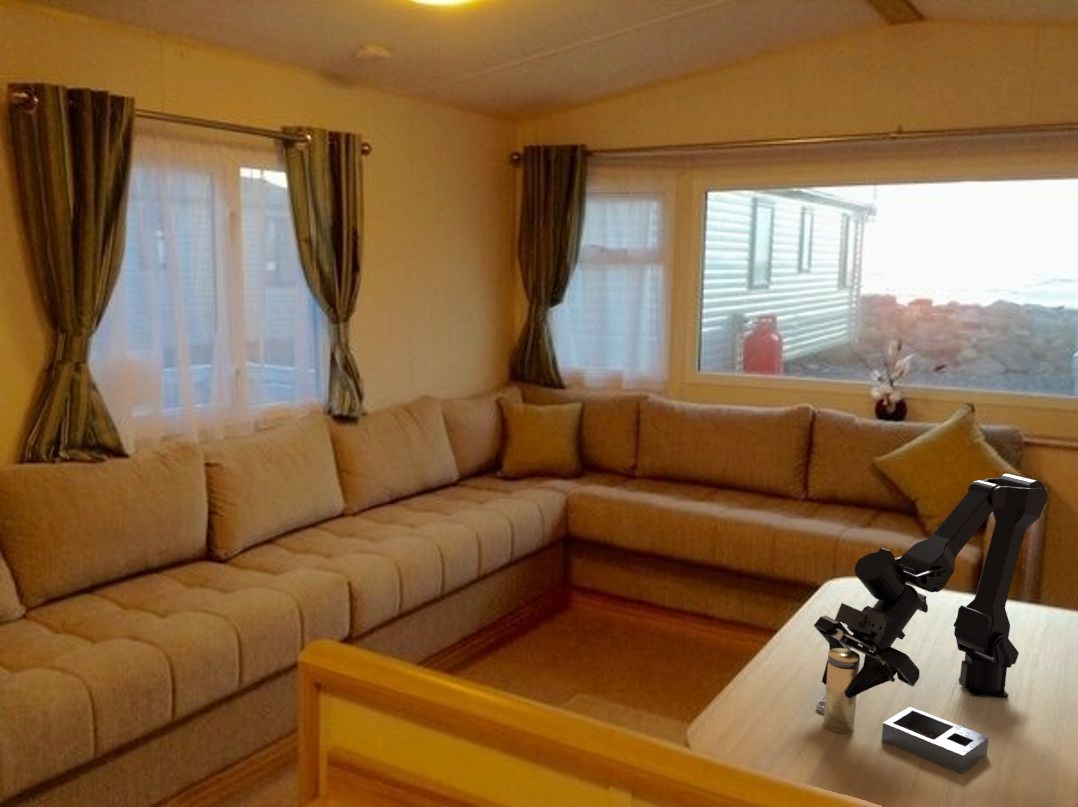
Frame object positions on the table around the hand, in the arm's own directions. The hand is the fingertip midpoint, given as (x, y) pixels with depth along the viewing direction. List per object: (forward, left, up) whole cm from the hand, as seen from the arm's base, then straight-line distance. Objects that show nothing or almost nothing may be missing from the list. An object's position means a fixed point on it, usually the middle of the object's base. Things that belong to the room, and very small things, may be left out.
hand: (835, 689), depth 150 cm
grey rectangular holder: (-15, +5, -7) cm, 17 cm away
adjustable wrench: (-6, -17, -7) cm, 19 cm away
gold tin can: (-1, -1, -7) cm, 7 cm away
